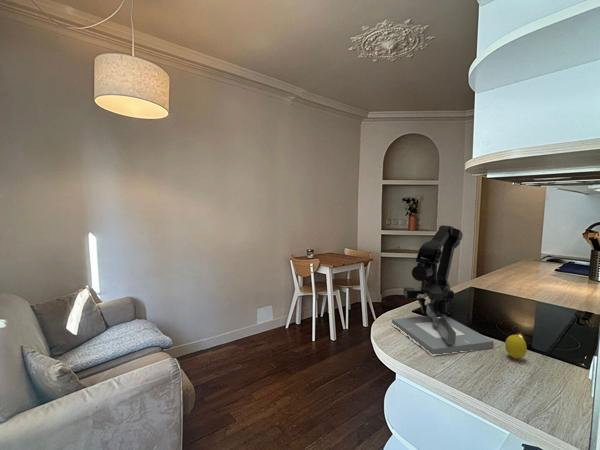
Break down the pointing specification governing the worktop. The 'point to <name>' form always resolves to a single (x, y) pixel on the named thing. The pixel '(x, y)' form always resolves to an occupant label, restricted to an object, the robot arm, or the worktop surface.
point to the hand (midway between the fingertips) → (427, 313)
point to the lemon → (516, 346)
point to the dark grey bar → (441, 324)
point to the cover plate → (433, 339)
